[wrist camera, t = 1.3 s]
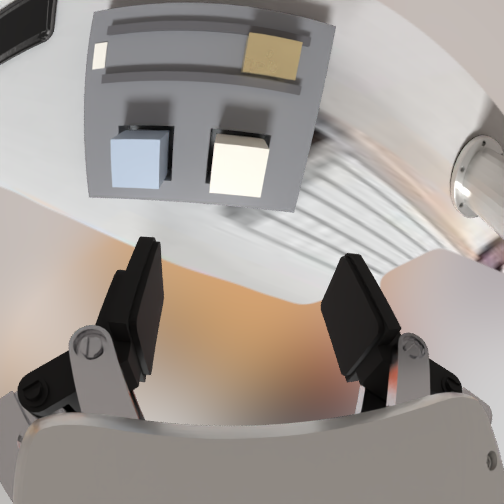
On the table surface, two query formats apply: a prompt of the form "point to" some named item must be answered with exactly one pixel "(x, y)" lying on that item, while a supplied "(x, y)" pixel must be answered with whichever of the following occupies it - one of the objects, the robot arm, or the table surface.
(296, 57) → the slider knob
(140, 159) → the blue button
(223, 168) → the cream button
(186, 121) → the panel
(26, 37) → the phone
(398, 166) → the table surface
